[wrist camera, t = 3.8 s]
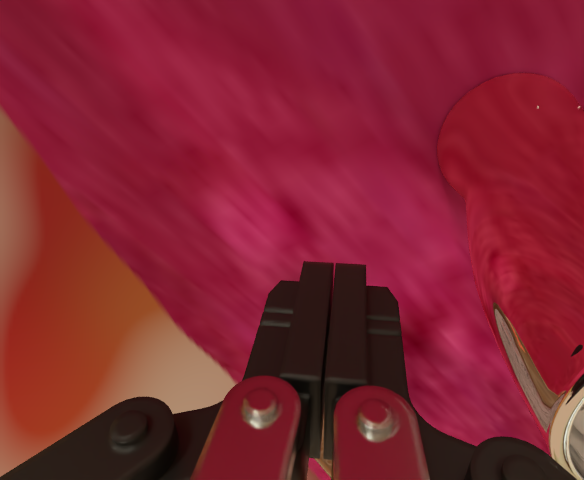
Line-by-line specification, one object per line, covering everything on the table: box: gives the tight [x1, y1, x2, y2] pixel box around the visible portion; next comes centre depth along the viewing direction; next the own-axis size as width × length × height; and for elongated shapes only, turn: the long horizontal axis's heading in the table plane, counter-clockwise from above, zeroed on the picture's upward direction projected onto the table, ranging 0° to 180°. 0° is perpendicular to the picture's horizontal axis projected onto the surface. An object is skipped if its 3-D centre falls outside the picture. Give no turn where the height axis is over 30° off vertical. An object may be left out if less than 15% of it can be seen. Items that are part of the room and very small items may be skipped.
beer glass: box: [437, 73, 584, 480], centre depth 13 cm, size 7×7×15 cm
